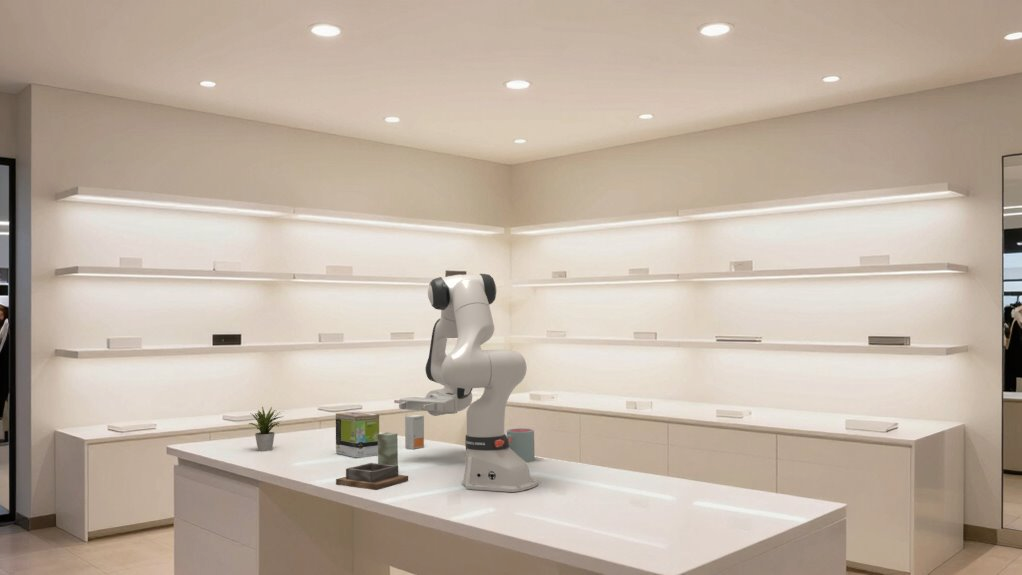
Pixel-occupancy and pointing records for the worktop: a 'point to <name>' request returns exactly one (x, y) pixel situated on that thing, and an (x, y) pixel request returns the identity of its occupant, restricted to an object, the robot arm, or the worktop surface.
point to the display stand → (372, 476)
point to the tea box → (357, 434)
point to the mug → (522, 443)
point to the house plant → (265, 430)
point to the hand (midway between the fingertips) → (411, 407)
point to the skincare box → (414, 431)
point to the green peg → (388, 449)
